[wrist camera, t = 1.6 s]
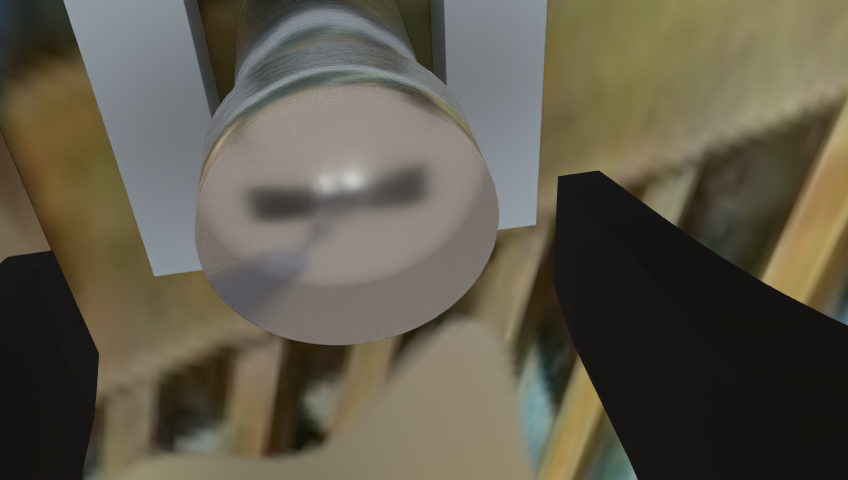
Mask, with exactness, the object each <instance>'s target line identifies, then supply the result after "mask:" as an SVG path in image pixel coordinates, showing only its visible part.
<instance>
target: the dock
mask: <svg viewBox="0 0 848 480" xmlns="http://www.w3.org/2000/svg"><path fill="white" fill-rule="evenodd" d="M50 250H51V249H50V246H49V244H48V242H47V239H46V237H45V235H44V232H43V230H42V228H41V225H40V223H39V220H38V218H37V216H36V213H35V211H34V209H33V206H32V204H31V201H30V199H29V197H28V194H27V192H26V190H25V187H24V185H23V183H22V180H21V178H20V175H19V173H18V171H17V168H16V166H15V164H14V161H13V159H12V156H11V154H10V152H9V149H8V147H7V145H6V142H5V140H4V138H3V135H2V133H1V130H0V263H1V262H2V261H3V260H4V259H5V258H7V257H9V256H16V255H23V254H30V253H36V252H43V251H50Z"/></svg>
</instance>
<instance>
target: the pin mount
mask: <svg viewBox="0 0 848 480" xmlns="http://www.w3.org/2000/svg"><path fill="white" fill-rule="evenodd" d="M64 3H65V7H66V10H67V13H68V16H69V19H70V22H71V25H72V28H73V31H74V34H75V37H76V40H77V43H78V46H79V49H80V52H81V55H82V58H83V61H84V64H85V67H86V70H87V73H88V76H89V79H90V82H91V85H92V88H93V92H94V95H95V98H96V101H97V104H98V107H99V110H100V113H101V116H102V119H103V122H104V125H105V128H106V131H107V134H108V137H109V140H110V143H111V146H112V149H113V152H114V155H115V158H116V161H117V164H118V167H119V170H120V174H121V177H122V180H123V183H124V186H125V189H126V192H127V195H128V198H129V201H130V204H131V207H132V210H133V213H134V216H135V219H136V222H137V225H138V228H139V231H140V234H141V237H142V240H143V243H144V246H145V249H146V252H147V255H148V259H149V262H150V265H151V268H152V271H153V274H154V277H155V276H162V275H169V274H177V273H184V272H191V271H199V270H203V269H202V266H201V263H200V261H199V258H198V254H197V249H196V244H195V215H196V206H197V196H198V186H199V177H200V167H201V157H202V150H203V143H204V139H205V136H206V133H207V130H208V127H209V124H210V122H211V120H212V118H213V116H214V114H215V112H216V110H217V109H218V107H219V106H220V105H221V104H220V100H219V95H218V91H217V86H216V82H215V77H214V73H213V69H212V64H211V60H210V55H209V51H208V46H207V42H206V37H205V33H204V28H203V24H202V19H201V15H200V11H199V6H198V2H197V0H64ZM430 10H431V35H432V59H433V74H434V75H435V76H436V77H437V78H439V79H440V80H441V81H442V82H443V83H444V84H445V85H446V86H447V87H448V89H449V90H450V91H451V92H452V93H453V95H454V96H455V97H456V99H457V100H458V102H459V104H460V105H461V107H462V109H463V110H464V113H465V115H466V117H467V120H468V122H469V125H470V127H471V129H472V132H473V134H474V137H475V139H476V141H477V144H478V146H479V149H480V151H481V153H482V156H483V158H484V161H485V163H486V165H487V168H488V170H489V173H490V175H491V177H492V180H493V182H494V185H495V189H496V193H497V198H498V205H499V224H498V230H501V229H508V228H515V227H523V226H530V225H536V210H537V191H538V171H539V152H540V133H541V113H542V94H543V74H544V55H545V35H546V16H547V0H430Z"/></svg>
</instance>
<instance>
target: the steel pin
mask: <svg viewBox="0 0 848 480" xmlns="http://www.w3.org/2000/svg"><path fill="white" fill-rule="evenodd" d="M498 224H499V205H498V198H497V193H496V189H495V185H494V182H493V180H492V177H491V175H490V173H489V170H488V168H487V165H486V163H485V161H484V158H483V156H482V153H481V151H480V149H479V146H478V144H477V141H476V139H475V137H474V134H473V132H472V129H471V127H470V125H469V122H468V120H467V117H466V115H465V113H464V110H463V109H462V107H461V105H460V104H459V102H458V100H457V99H456V97H455V96H454V95H453V93H452V92H451V91H450V90H449V89H448V87H447V86H446V85H445V84H444V83H443V82H442V81H441V80H440V79H439V78H437V77H436V76H435V75H434V74H433V73H432V72H430V71H429V70H427V69H426V68H424V67H423V66H421V65H420V64H419V63H418V61H417V59H416V56H415V53H414V50H413V48H412V45H411V42H410V39H409V36H408V34H407V31H406V28H405V25H404V23H403V20H402V17H401V14H400V11H399V9H398V6H397V4H396V2H395V0H244V2H243V5H242V7H241V10H240V13H239V17H238V23H237V37H236V57H235V78H234V89H233V90H232V91H231V92H230V93H229V94H228V95H227V96H226V97H225V99H224V100H223V102H222V103H221V105H220V106H219V107H218V109H217V110H216V112H215V114H214V116H213V118H212V120H211V122H210V124H209V127H208V130H207V133H206V136H205V139H204V143H203V150H202V157H201V167H200V177H199V186H198V196H197V206H196V215H195V244H196V249H197V254H198V258H199V261H200V263H201V266H202V269H203V272H204V273H205V275H206V277H207V279H208V281H209V282H210V284H211V286H212V287H213V288H214V290H215V291H216V292H217V294H218V295H219V296H220V297H221V299H222V300H223V301H224V302H225V303H226V304H228V305H229V306H230V307H231V308H232V309H233V310H234V311H235V312H237V313H238V314H239V315H241V316H242V317H243V318H245V319H246V320H248V321H249V322H251V323H253V324H255V325H256V326H258V327H260V328H262V329H264V330H266V331H269V332H271V333H274V334H276V335H279V336H282V337H285V338H289V339H292V340H296V341H301V342H307V343H312V344H323V345H352V344H362V343H368V342H373V341H379V340H383V339H387V338H390V337H393V336H397V335H400V334H402V333H405V332H407V331H410V330H412V329H415V328H417V327H419V326H421V325H423V324H425V323H427V322H429V321H431V320H432V319H434V318H435V317H437V316H438V315H440V314H441V313H443V312H444V311H446V310H447V309H448V308H449V307H451V306H452V305H453V304H454V303H456V302H457V301H458V300H459V299H460V298H461V297H462V296H463V295H464V294H465V293H466V292H467V291H468V290H469V289H470V288H471V286H472V285H473V284H474V282H475V281H476V280H477V278H478V277H479V276H480V274H481V273H482V271H483V269H484V267H485V266H486V264H487V262H488V260H489V258H490V255H491V253H492V250H493V248H494V245H495V241H496V237H497V233H498Z"/></svg>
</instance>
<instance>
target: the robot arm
mask: <svg viewBox="0 0 848 480" xmlns="http://www.w3.org/2000/svg"><path fill="white" fill-rule="evenodd" d="M553 284H554V287H555V290H556V293H557V296H558V300H559V303H560V306H561V309H562V312H563V315H564V318H565V321H566V324H567V327H568V330H569V333H570V336H571V339H572V341H573V343H574V346H575V348H576V350H577V352H578V354H579V356H580V358H581V361H582V363H583V365H584V367H585V369H586V371H587V373H588V375H589V377H590V380H591V382H592V384H593V386H594V388H595V390H596V392H597V394H598V396H599V398H600V400H601V402H602V404H603V406H604V409H605V411H606V413H607V415H608V417H609V419H610V421H611V423H612V425H613V427H614V429H615V431H616V433H617V435H618V437H619V440H620V442H621V444H622V446H623V448H624V450H625V452H626V454H627V456H628V458H629V460H630V463H631V465H632V467H633V470H634V472H635V474H636V477H637V479H638V480H848V325H845V324H843V323H841V322H839V321H837V320H835V319H832V318H830V317H828V316H826V315H824V314H822V313H820V312H818V311H816V310H814V309H813V308H811V307H809V306H807V305H805V304H803V303H801V302H799V301H797V300H795V299H793V298H791V297H789V296H787V295H785V294H783V293H781V292H780V291H778V290H776V289H774V288H772V287H771V286H769V285H767V284H765V283H763V282H762V281H760V280H758V279H757V278H755V277H753V276H752V275H750V274H748V273H747V272H745V271H744V270H742V269H740V268H739V267H737V266H735V265H734V264H732V263H730V262H729V261H727V260H725V259H724V258H722V257H721V256H719V255H718V254H716V253H715V252H713V251H711V250H710V249H708V248H707V247H705V246H704V245H702V244H701V243H699V242H698V241H696V240H695V239H693V238H692V237H690V236H689V235H688V234H686V233H685V232H683V231H682V230H680V229H679V228H677V227H676V226H675V225H673V224H672V223H670V222H669V221H668V220H666V219H665V218H663V217H662V216H661V215H659V214H658V213H657V212H655V211H654V210H652V209H651V208H650V207H648V206H647V205H646V204H644V203H643V202H641V201H640V200H639V199H637V198H636V197H635V196H633V195H632V194H631V193H629V192H628V191H627V190H625V189H624V188H622V187H621V186H620V185H618V184H617V183H616V182H614V181H613V180H612V179H610V178H609V177H607V176H606V175H604V174H603V173H602V172H600V171H592V172H585V173H578V174H571V175H564V176H558V189H557V210H556V231H555V252H554V273H553ZM98 361H99V353H98V350H97V348H96V346H95V344H94V341H93V339H92V337H91V335H90V333H89V330H88V328H87V326H86V324H85V321H84V319H83V317H82V315H81V313H80V310H79V308H78V306H77V304H76V301H75V299H74V297H73V295H72V293H71V290H70V288H69V286H68V284H67V281H66V279H65V277H64V275H63V273H62V270H61V268H60V266H59V264H58V261H57V259H56V257H55V255H54V253H53V250H50V251H43V252H36V253H30V254H23V255H16V256H9V257H7V258H5V259H4V260H3V261H2V262H1V263H0V480H80V479H81V475H82V471H83V466H84V462H85V457H86V453H87V448H88V444H89V439H90V435H91V430H92V425H93V420H94V413H95V402H96V392H97V377H98Z"/></svg>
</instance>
